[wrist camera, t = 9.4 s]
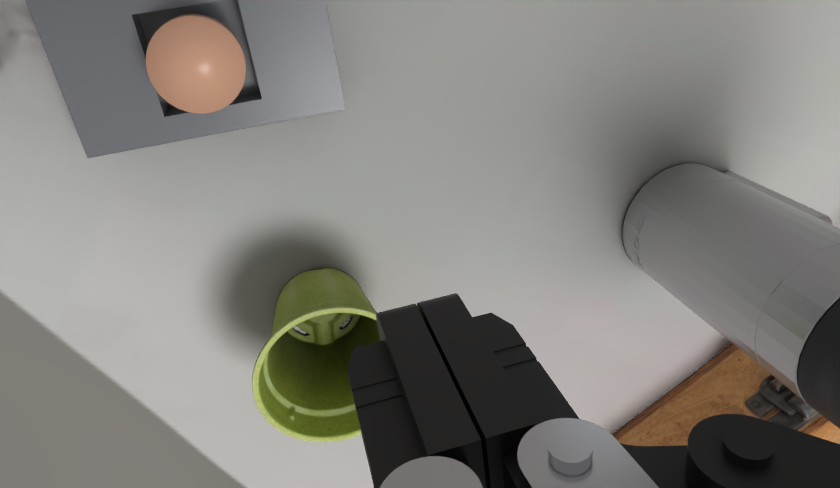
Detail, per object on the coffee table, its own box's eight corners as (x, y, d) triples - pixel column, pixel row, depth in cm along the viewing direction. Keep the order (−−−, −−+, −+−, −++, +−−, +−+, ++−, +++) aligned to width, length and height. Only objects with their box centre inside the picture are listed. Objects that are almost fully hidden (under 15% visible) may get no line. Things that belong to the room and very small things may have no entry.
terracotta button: (233, 2, 33) (232, 9, 30) (254, 87, 36) (255, 104, 32) (145, 16, 33) (132, 25, 29) (172, 102, 35) (163, 121, 31)
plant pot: (223, 323, 42) (218, 405, 35) (305, 218, 41) (319, 280, 33) (332, 379, 47) (349, 463, 39) (410, 286, 45) (444, 355, 37)
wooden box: (857, 234, 54) (1034, 316, 42) (896, 344, 62) (1054, 441, 50) (583, 437, 57) (675, 571, 44) (654, 519, 64) (748, 652, 52)
